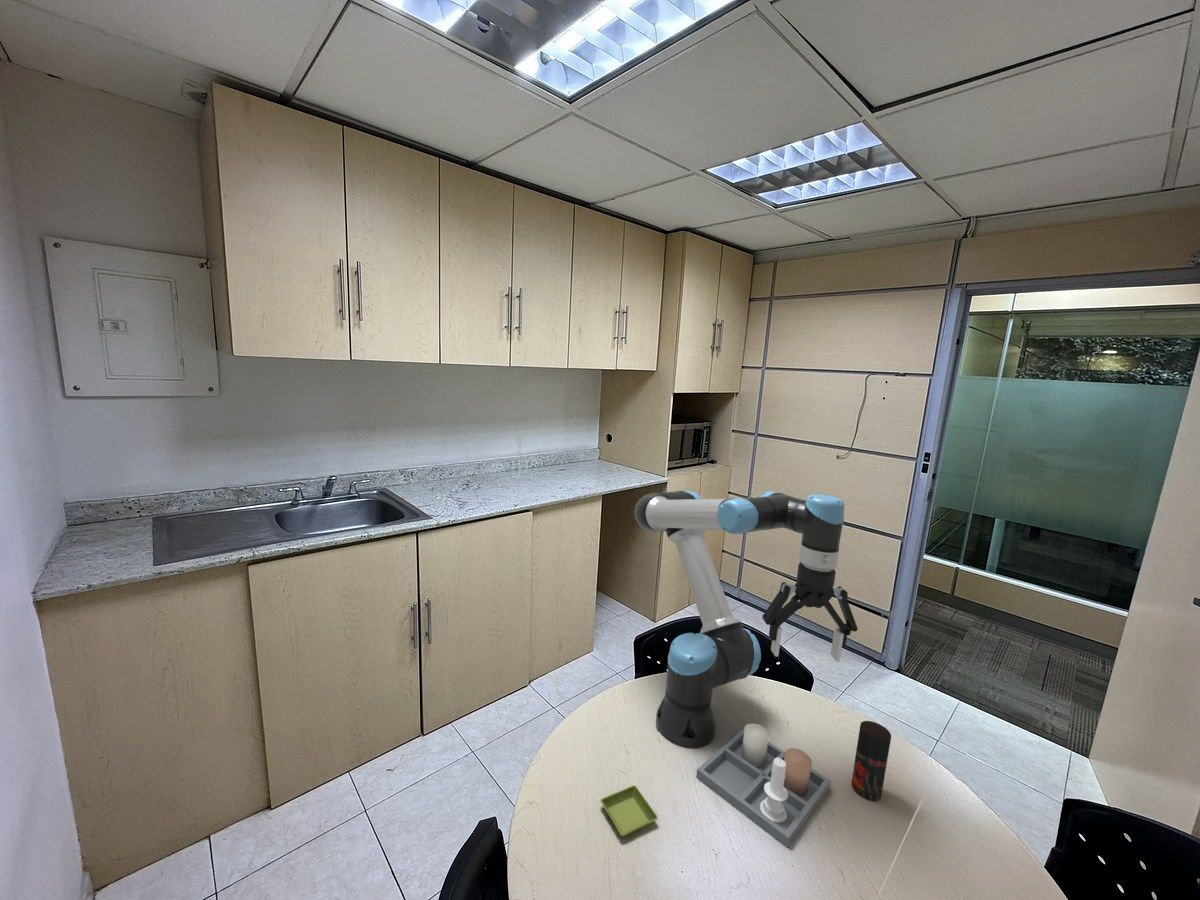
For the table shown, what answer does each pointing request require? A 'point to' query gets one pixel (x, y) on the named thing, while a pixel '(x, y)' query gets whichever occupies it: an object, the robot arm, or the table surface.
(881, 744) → the deodorant
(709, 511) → the robot arm
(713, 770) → the holder tray
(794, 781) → the glossy peach egg
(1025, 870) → the table surface
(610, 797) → the green square dish
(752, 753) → the glossy white egg
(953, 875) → the table surface
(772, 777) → the white peg
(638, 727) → the table surface
